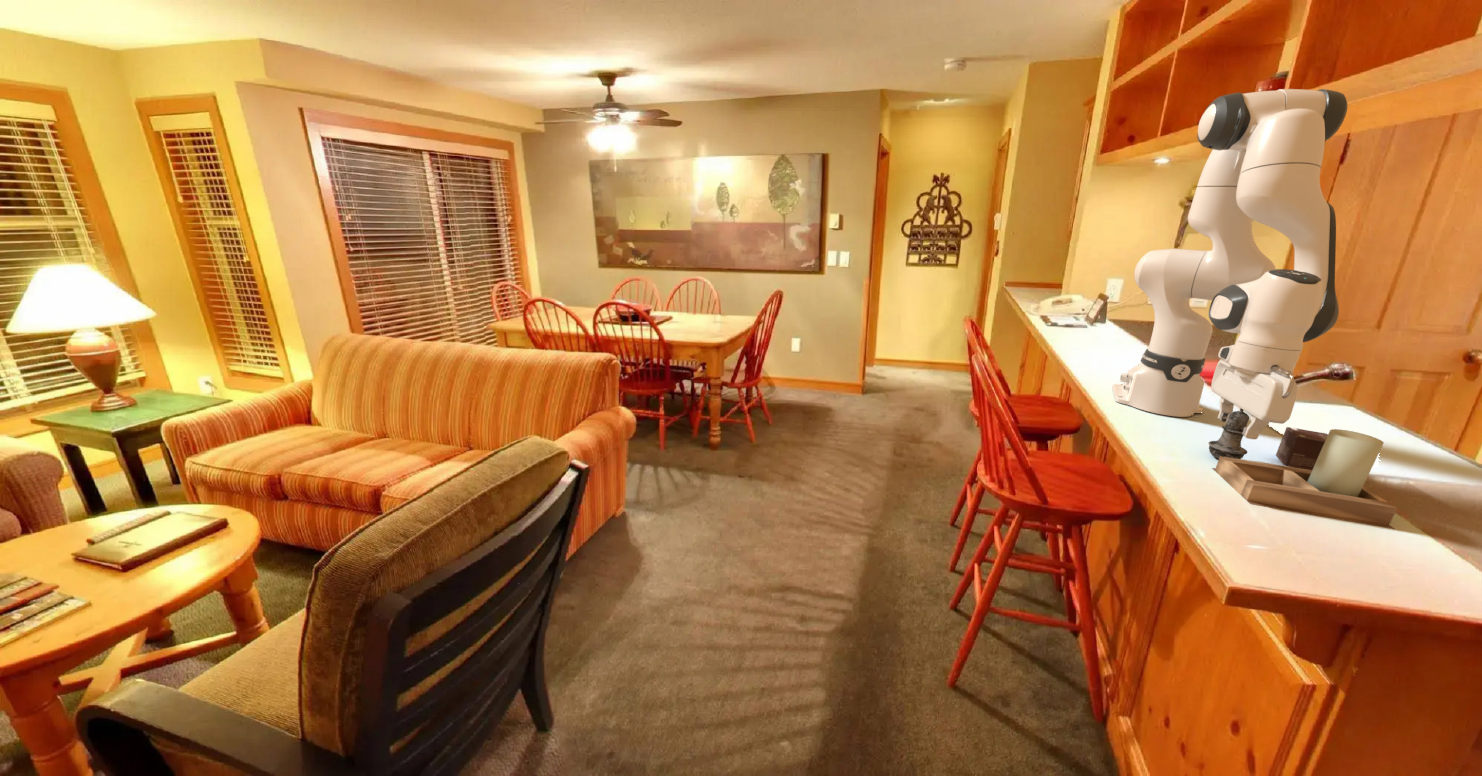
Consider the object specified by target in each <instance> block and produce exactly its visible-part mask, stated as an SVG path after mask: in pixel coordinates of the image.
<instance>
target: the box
mask: <svg viewBox="0 0 1482 776" xmlns="http://www.w3.org/2000/svg"><path fill="white" fill-rule="evenodd" d="M1328 434H1329V433H1325V432H1321V431H1320V432H1319V431H1312V430H1307V429H1301V428H1295V427H1289V426H1286V427H1285V431H1284V433H1283V436H1282V438H1281V441H1280V443H1279V446H1278V448H1277V451H1276V453H1275V456H1276V458H1277V459H1278V460H1279V462H1281V464H1282V466H1287V467H1294V468H1301V469H1307V470H1313V468H1314V465H1315V463H1316V461H1317V459H1318V456H1319V454H1320V452H1321V450H1322V447H1323V445H1324V443H1325V441H1326V438H1327V436H1328Z"/></svg>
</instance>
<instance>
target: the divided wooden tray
mask: <svg viewBox="0 0 1482 776" xmlns="http://www.w3.org/2000/svg"><path fill="white" fill-rule="evenodd" d="M1215 466H1216V467H1213V468H1211V469H1212V470H1213V471H1214V472H1215V473H1217V475H1219V476H1220V477H1221V478H1222V479H1223V480H1224V481H1225V482H1226V483H1227V484H1228V485H1229V486H1230V487H1231V488H1233V489H1234V491H1236V492H1237V493H1238V494H1239V495H1240V496H1241V497H1242V498H1243V499H1244V500H1245V501H1246V502H1248V503H1249V504H1250V505H1253V506H1258V507H1259V506H1260V507H1264V508H1265V507H1266V508H1271V509H1276V510H1283V511H1288V512H1294V513H1300V514H1304V515H1305V514H1306V515H1309V516H1310V515H1311V516H1318V517H1323V518H1329V519H1335V520H1340V521H1345V522H1346V521H1347V522H1353V523H1358V524H1364V525H1369V526H1375V527H1381V528H1387V529H1393V530H1396V528H1395V527H1394V526H1392V525H1391V522H1392V520H1393V518H1394V517H1395V515H1396V512H1397V511H1398V507H1396V506H1395V505H1393V504H1392V503H1390V502H1389V501H1387V500H1385V499H1384V498H1382V497H1381V496H1379V495H1378V494H1376V493H1374V492H1373V491H1371V490H1370V489H1369V488H1367V487H1365V486H1364V485H1363V487H1362V489H1361V491H1360V493H1359V495H1358V497H1353V496H1347V495H1341V494H1335V493H1328V492H1322V491H1319V490H1318V489H1316V488H1315V487H1313V486H1312V485H1311V484H1309V483H1308V482H1307V481H1308V479H1309V477H1310V475H1311V472H1312V470H1307V469H1301V468H1294V467H1289V466H1285V465H1281V464H1279V465H1278V464H1273V463H1266V462H1259V461H1252V460H1247V459H1242V458H1241V459H1235V458H1228V457H1221V456H1220V458H1219V459H1218V461H1217V464H1216V465H1215Z"/></svg>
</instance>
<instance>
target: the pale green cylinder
mask: <svg viewBox="0 0 1482 776" xmlns="http://www.w3.org/2000/svg"><path fill="white" fill-rule="evenodd" d="M1327 434H1328V436H1327V438H1326V441H1325V443H1324V445H1323V447H1322V450H1321V452H1320V454H1319V456H1318V459H1317V461H1316V463H1315V465H1314V468H1313V470H1312V472H1311V475H1310V477H1309V479H1308V481H1307V482H1308V483H1309V484H1311V485H1312V486H1313V487H1315V488H1316V489H1318V490H1319V491H1322V492H1328V493H1335V494H1341V495H1347V496H1353V497H1358V495H1359V493H1360V491H1361V489H1362V487H1363V486H1364V485H1365V484H1366V481H1367V478H1368V477H1369V474H1370V473H1371V471H1372V468H1373V466H1374V464H1375V462H1376V460H1377V458H1378V456H1379V454H1380V451H1381V450H1382V447H1383V445H1384V444H1385V443H1384V441H1383V440H1382V439H1379V438H1377V437H1374V436H1371V435H1368V434H1365V433H1361V432H1356V431H1351V430H1348V429H1340V428H1339V429H1338V428H1337V429H1335V428H1334V429H1330V430H1329V432H1328V433H1327Z"/></svg>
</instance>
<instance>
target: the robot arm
mask: <svg viewBox="0 0 1482 776" xmlns="http://www.w3.org/2000/svg"><path fill="white" fill-rule="evenodd" d="M1347 111H1348V100H1347V98H1346V95H1345V94H1344V93H1342V92H1339V91H1336V90H1331V89H1326V88H1325V89H1324V88H1321V89H1320V88H1319V89H1317V90H1313V89H1303V88H1302V89H1299V88H1298V89H1295V88H1282V89H1281V88H1279V89H1277V90H1265V91H1263V90H1262V91H1254V92H1253V91H1252V92H1246V93H1242V92H1235V93H1234V92H1233V93H1228V94H1224V95H1221V96H1218V97H1217V98H1215V99H1214V100H1213V101H1212V102H1210V103H1209V105H1208V106H1207V107H1206V108H1205V111H1204V112H1203V113H1202V115H1201V118H1200V119H1199V122H1198V126H1197V135H1196V137H1197V141H1198V143H1199V144H1200V145H1201V146H1202V147H1203V148H1206V149H1210V150H1211V152H1210V154H1209V156H1208V157H1207V159H1206V162H1205V164H1204V166H1203V169H1202V171H1201V173H1200V176H1199V179H1198V182H1197V185H1196V188H1195V193H1194V195H1193V197H1192V202H1191V204H1190V205H1191V206H1190V208H1189V210H1188V211H1189V213H1188V216H1187V222H1188V225H1189V227H1190V228H1191V229H1193V230H1194V231H1196V232H1197V233H1199V234H1200V235H1202V236H1205V237H1207V238H1208V239H1210V241H1211V243H1212V248H1211V250H1199V249H1198V250H1197V249H1186V248H1185V249H1183V248H1166V249H1165V248H1164V249H1162V248H1161V249H1155V250H1149V251H1148V252H1147V253H1145V254H1144V255H1143V256H1142V257H1141V258H1140V259H1139V260H1138V261H1137V262H1136V264H1135V267H1134V273H1133V275H1134V281H1135V284H1136V285H1137V287H1138V288H1139V289H1140V290H1141V291H1142V292H1143V293H1144V294H1145V295H1146V296H1147V298H1148V299H1149V301H1150V303H1151V305H1152V308H1153V314H1154V321H1153V322H1154V323H1153V328H1152V329H1153V330H1152V333H1151V338H1150V341H1149V344H1148V348H1146V349H1145V351H1144V352H1143V354H1142V357H1141V359H1140V363H1138V364H1137V365H1135V366H1133V367H1132V368H1131V369H1129V370H1127V372H1126V373H1121V375H1120V378H1119V382H1121V384H1120V383H1119V384H1117V383H1115V384H1112V387H1111V389H1112V393H1113V397H1114V400H1115V402H1117V403H1120V404H1124V405H1128V406H1131V407H1134V408H1136V409H1138V410H1142V411H1145V412H1149V413H1153V414H1157V415H1163V416H1171V417H1176V418H1177V417H1179V418H1180V417H1181V418H1184V417H1186V418H1187V417H1192V416H1194V415H1195V414H1194V413H1201V412H1203V413H1204V408H1203V407H1201V406H1200V402H1201V399H1202V398H1201V397H1202V395H1203V390H1204V387H1205V380H1204V379H1203V378H1202V377H1201V375H1200V374H1201V373H1202V372H1203V369H1204V368H1205V363H1206V358H1205V355H1206V352H1207V349H1208V347H1209V344H1210V341H1211V338H1212V335H1213V326H1214V327H1215V328H1216V329H1217V330H1219V331H1223V332H1227V333H1232V334H1239V336H1238V337H1236V338H1237V339H1236V341H1235V343H1234V344H1232V345H1231V344H1230V345H1228V346H1227V345H1226V346H1222V347H1221V348H1220V349H1219V351H1218V354H1217V355H1218V358H1219V361H1218V362H1217V364H1216V367H1215V370H1214V373H1213V377H1212V380H1211V391H1212V392H1213V393H1214V394H1216V395H1218V396H1219V397H1220V399H1219V413H1218V415H1217V419H1218V420H1220V421H1221V422H1225V423H1227V420H1228V418H1229V415H1230V413H1231V412H1234V405H1235V406H1236V407H1238V408H1239V409H1243V411H1244V412H1246V413H1248V414H1249V415H1251V417H1250V418H1249V420H1250V421H1251V422H1250V423H1249V425H1248V426H1246V427H1244V430H1243V432H1242V435H1243V437H1245V438H1246V439H1247V440H1258V438H1259V435H1260V433H1261V432H1262V431H1263V430H1265V428H1266V427H1268V426H1269V424H1270V423H1273V424H1279V425H1282V424H1285V423H1286V422H1287V421H1289V419H1290V418H1291V415H1292V412H1293V409H1294V406H1295V404H1296V400H1297V396H1298V390H1299V389H1298V383H1296V380H1295V379H1294V370H1295V367H1296V365H1297V362H1298V361H1299V358H1300V354H1301V352H1302V350H1303V348H1304V343H1306V342H1310V341H1312V340H1315V339H1317V338H1320V337H1321V336H1322V335H1324V334H1326V333H1327V332H1329V331H1330V330H1331V329H1332V328H1333V327H1334V326H1335V325H1336V323H1337V321H1338V319H1339V313H1340V312H1339V310H1340V307H1339V302H1338V297H1337V292H1336V255H1337V254H1336V250H1337V220H1336V218H1337V217H1336V210H1335V209H1334V207H1333V205H1332V204H1330V203H1329V202H1328V201H1326V199H1325V197H1324V195H1323V192H1322V191H1323V190H1322V188H1321V180H1320V176H1321V169H1322V165H1323V159H1324V152H1325V145H1326V144H1325V143H1326V142H1327V141H1328V140H1330V139H1331V138H1332V137H1334V135H1335V134H1336V133H1337V132H1338V131H1339V130H1340V128H1341V126H1342V124H1343V122H1344V121H1345V118H1346V115H1347V113H1348V112H1347ZM1253 221H1254V222H1257V223H1259V224H1261V225H1265V226H1266V227H1269V228H1271V229H1273V230H1275V231H1277V232H1279V233H1281V234H1283V235H1284V236H1285V237H1286V238H1288V240H1289V241H1290V242H1291V243H1292V245H1293V246H1292V247H1293V249H1294V255H1293V256H1294V260H1293V263H1294V264H1293V269H1287V268H1285V269H1284V268H1280V269H1279V268H1278V269H1277V268H1276V265H1275V264H1274V262H1273V261H1272V260H1271V259H1270V258H1269V257H1268V256H1266V255H1265V254H1264V253H1263V252H1262V251H1261V250H1260V249H1259V247H1258V245H1257V244H1256V241H1255V238H1254V235H1253V227H1252V226H1253ZM1190 299H1198V300H1207V301H1211V303H1210V305H1209V308H1208V309H1209V310H1208V318H1209V320H1208V319H1207V318H1206V317H1205V316H1203V315H1202V314H1200V313H1198V312H1196V311H1194V310H1193V309H1192V307H1191V305H1190ZM1122 383H1123V384H1122ZM1193 414H1194V415H1193ZM1191 415H1192V416H1191Z"/></svg>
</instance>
